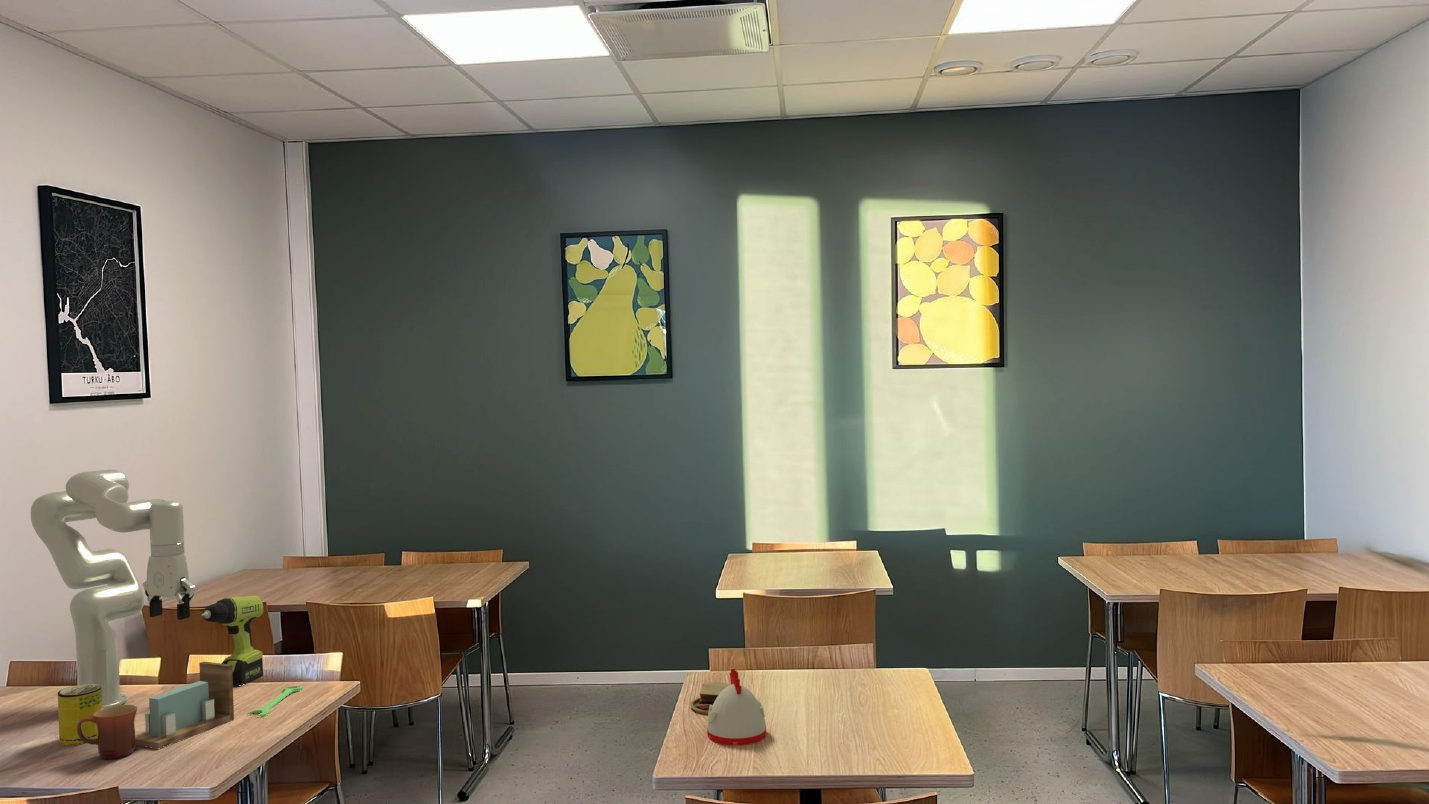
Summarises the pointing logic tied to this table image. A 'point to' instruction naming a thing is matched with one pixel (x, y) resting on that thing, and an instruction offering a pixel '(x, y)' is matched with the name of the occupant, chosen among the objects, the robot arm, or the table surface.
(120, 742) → the mug
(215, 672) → the cabinet base
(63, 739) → the yellow food can
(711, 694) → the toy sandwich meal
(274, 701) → the wrench
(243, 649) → the cordless drill
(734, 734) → the kitchen timer
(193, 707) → the pale teal rectangular block
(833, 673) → the table surface
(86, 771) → the table surface
